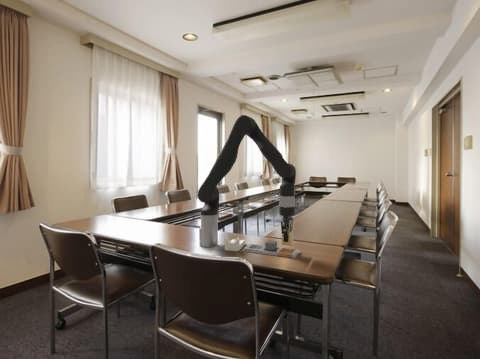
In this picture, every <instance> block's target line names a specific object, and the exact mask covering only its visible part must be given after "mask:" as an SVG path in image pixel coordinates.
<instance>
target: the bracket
mask: <svg viewBox="0 0 480 359" xmlns="http://www.w3.org/2000/svg"><path fill="white" fill-rule="evenodd" d="M245 244H246V240H245V239H240V237H236V238H235V239H231V240H230V239H229V236H225V237H224V251H229V252H230V251H232V252H239V251H240V250H241V249H242V248H244V246H245Z"/></svg>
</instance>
